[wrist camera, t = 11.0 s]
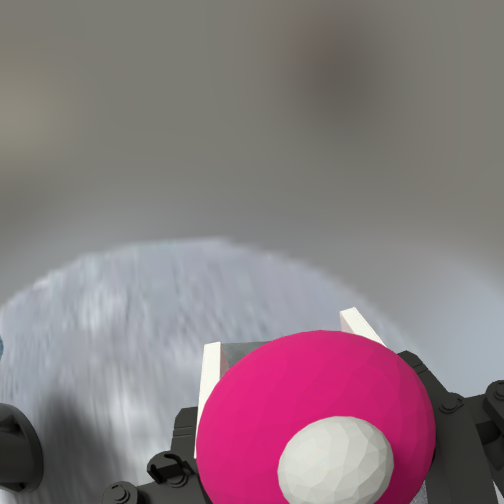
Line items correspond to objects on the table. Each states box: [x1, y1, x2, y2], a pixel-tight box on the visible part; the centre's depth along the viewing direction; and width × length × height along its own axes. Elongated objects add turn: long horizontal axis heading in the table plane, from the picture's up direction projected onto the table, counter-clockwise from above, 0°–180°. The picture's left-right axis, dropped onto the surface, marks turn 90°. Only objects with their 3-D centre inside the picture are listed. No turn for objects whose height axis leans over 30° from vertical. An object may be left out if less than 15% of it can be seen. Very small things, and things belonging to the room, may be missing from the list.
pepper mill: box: [196, 330, 436, 504], centre depth 12 cm, size 7×7×20 cm
